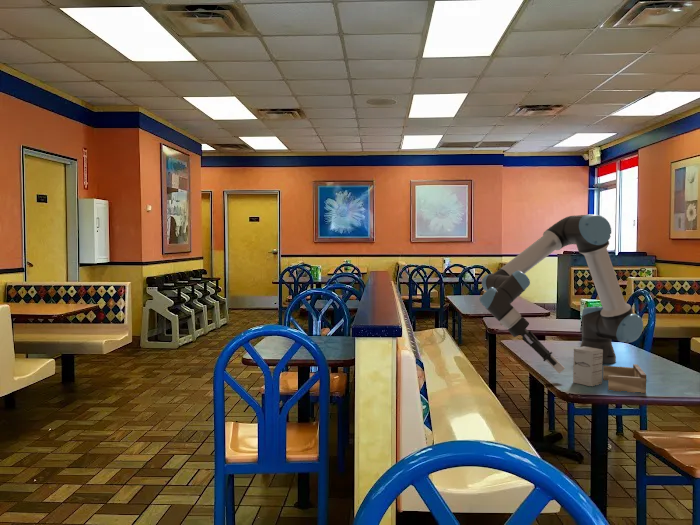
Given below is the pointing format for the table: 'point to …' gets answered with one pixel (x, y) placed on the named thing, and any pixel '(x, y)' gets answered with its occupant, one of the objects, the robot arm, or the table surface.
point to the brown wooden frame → (625, 378)
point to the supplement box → (587, 366)
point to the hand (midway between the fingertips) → (561, 370)
